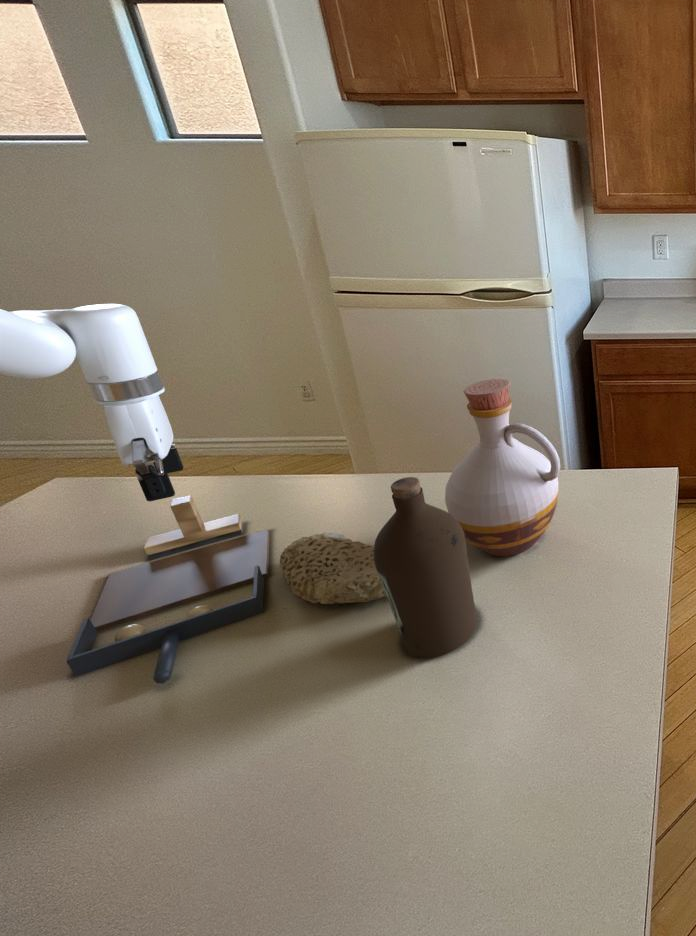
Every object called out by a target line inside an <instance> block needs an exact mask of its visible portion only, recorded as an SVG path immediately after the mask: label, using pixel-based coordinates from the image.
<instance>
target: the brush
mask: <svg viewBox="0 0 696 936" xmlns="http://www.w3.org/2000/svg"><path fill="white" fill-rule="evenodd" d="M170 509H171V511H172V514H173V516H174V519H175V520H176V522H177V524H178V527H179V529H173V530H171V531H167V532H163V533H160V534H156V535H152V536H147V538H146V541H145V544H144V547H143V549H144V552H145V554H146V555H147V558H148V560H149V561H153V560H158V559H161V558H165V557H167V556H168V557H169V556H172V555H176V554H179V553H183V552H184V551H185V552H186V551H190V550H194V549H197V548H201V547H204V546H208V545H210V544H215V543H219V542H222V541H226V540H229V539H233V538H236V537H240V536H244V527H245V524H244V522H243V518H242V516H241V514H240V513H235V514H233V515H231V514H230V515H228V516H224V517H221V518H220V517H219V518H216V519H213V520H208V521H205V522H204V521H203V519H202V516H201V514H200V512H199V510H198V507H197V505H196V503H195V500H194V498H193V496H192V494H189V495H186V496H181V497H177V498H172V500H171V503H170Z"/></svg>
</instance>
